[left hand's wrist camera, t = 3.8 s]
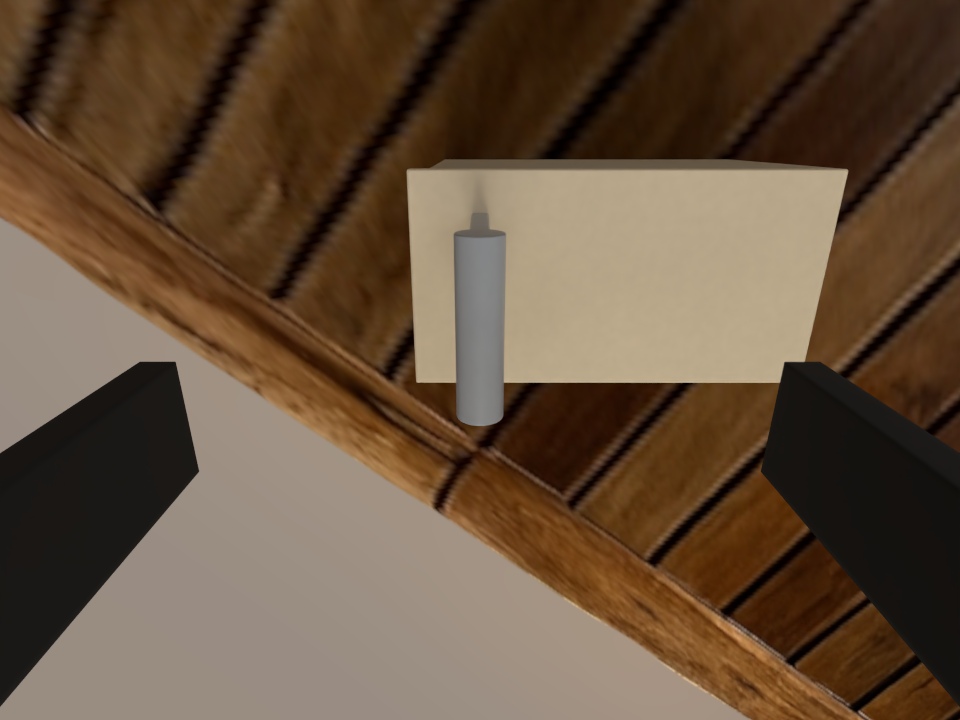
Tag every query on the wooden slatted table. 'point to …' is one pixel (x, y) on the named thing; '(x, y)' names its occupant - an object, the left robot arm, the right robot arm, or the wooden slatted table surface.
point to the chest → (608, 163)
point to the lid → (614, 275)
